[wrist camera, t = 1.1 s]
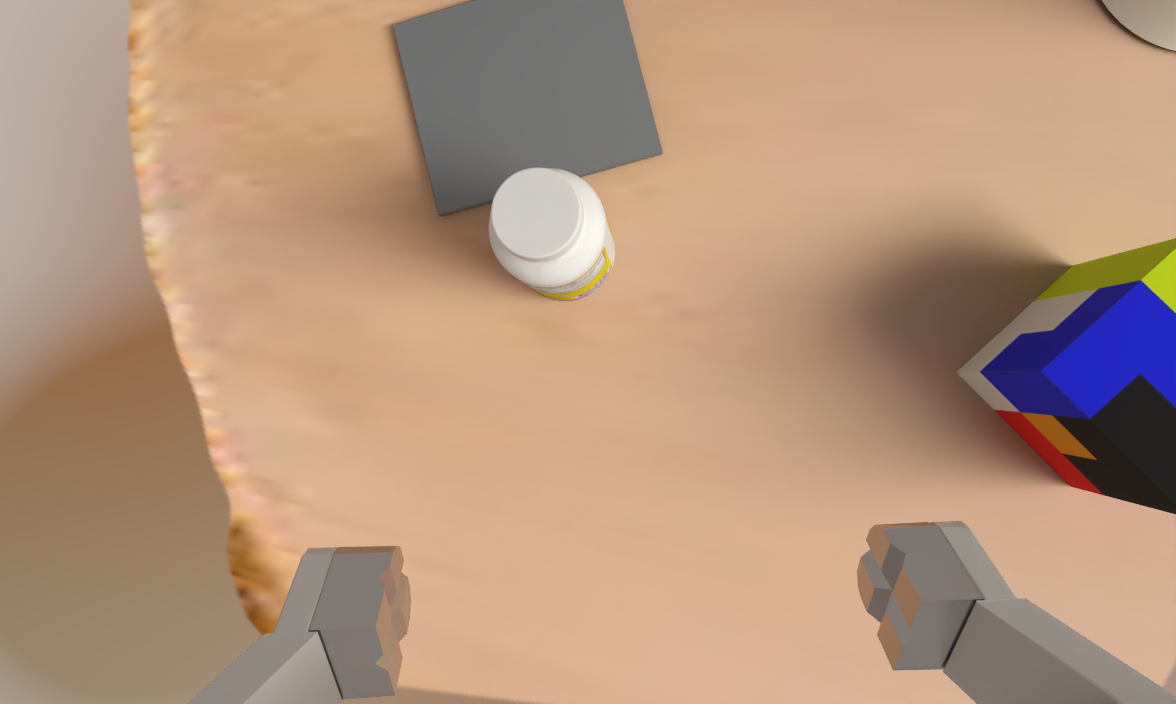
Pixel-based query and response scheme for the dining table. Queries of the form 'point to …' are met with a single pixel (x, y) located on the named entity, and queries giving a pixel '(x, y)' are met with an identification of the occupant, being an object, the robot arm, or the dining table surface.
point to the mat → (523, 93)
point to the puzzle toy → (1095, 375)
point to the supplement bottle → (552, 233)
